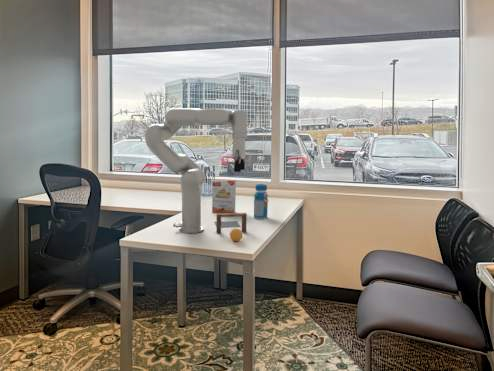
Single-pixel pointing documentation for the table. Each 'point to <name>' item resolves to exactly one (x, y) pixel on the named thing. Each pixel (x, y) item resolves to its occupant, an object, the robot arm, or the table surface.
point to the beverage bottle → (260, 202)
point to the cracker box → (223, 196)
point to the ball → (236, 234)
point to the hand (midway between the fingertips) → (239, 170)
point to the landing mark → (229, 224)
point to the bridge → (219, 215)
